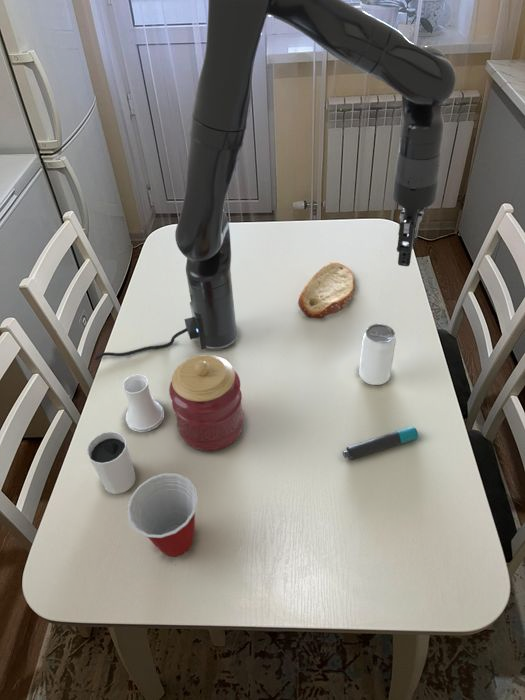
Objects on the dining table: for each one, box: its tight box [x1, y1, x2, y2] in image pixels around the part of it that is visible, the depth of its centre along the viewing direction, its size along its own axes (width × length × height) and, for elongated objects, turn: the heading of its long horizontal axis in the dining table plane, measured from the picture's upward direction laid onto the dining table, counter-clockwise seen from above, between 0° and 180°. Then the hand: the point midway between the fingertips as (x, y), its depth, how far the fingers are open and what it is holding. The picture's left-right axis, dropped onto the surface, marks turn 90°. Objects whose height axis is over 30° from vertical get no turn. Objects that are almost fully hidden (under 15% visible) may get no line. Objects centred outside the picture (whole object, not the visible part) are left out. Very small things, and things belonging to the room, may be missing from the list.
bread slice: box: [297, 261, 356, 320], centre depth 135 cm, size 18×18×4 cm
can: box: [358, 323, 397, 386], centre depth 111 cm, size 6×6×12 cm
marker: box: [342, 425, 419, 460], centre depth 101 cm, size 15×2×2 cm
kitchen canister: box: [168, 354, 245, 453], centre depth 101 cm, size 13×13×18 cm
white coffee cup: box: [86, 431, 136, 495], centre depth 95 cm, size 7×7×10 cm
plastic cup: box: [126, 472, 199, 558], centre depth 86 cm, size 11×11×12 cm
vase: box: [122, 373, 165, 433], centre depth 106 cm, size 8×8×10 cm
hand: (407, 252), depth 107 cm, fingers open, 8 cm apart
